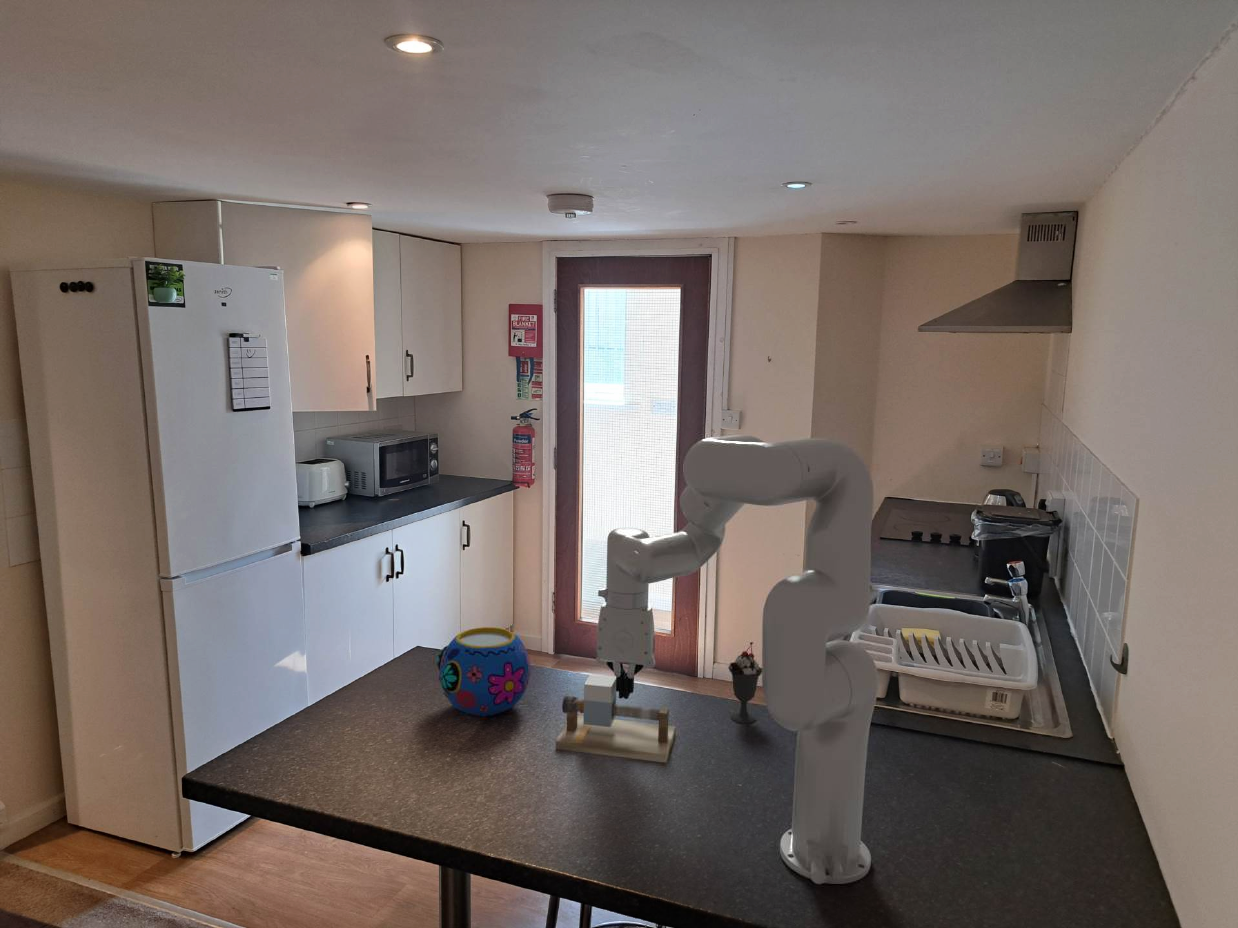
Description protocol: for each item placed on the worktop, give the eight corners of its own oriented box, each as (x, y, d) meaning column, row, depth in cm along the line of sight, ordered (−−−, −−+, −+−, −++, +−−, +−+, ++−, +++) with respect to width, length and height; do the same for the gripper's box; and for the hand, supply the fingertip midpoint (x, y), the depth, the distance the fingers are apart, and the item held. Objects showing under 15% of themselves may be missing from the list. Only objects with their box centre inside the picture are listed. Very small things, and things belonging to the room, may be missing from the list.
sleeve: (610, 727, 147) (611, 686, 146) (583, 723, 148) (584, 684, 147) (615, 716, 152) (616, 677, 151) (589, 713, 153) (590, 674, 152)
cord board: (666, 762, 142) (667, 721, 141) (555, 748, 146) (556, 709, 145) (675, 733, 153) (676, 695, 152) (571, 721, 157) (572, 684, 156)
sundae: (759, 711, 163) (762, 639, 161) (761, 726, 157) (765, 651, 155) (725, 709, 164) (728, 637, 162) (726, 724, 157) (729, 649, 155)
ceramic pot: (435, 695, 167) (434, 625, 165) (521, 687, 173) (521, 618, 171) (443, 734, 151) (443, 656, 149) (538, 723, 156) (539, 648, 154)
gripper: (581, 600, 144) (579, 699, 146) (665, 607, 141) (662, 709, 143) (591, 588, 151) (589, 683, 153) (671, 595, 148) (668, 691, 150)
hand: (624, 695), depth 148 cm, fingers closed
